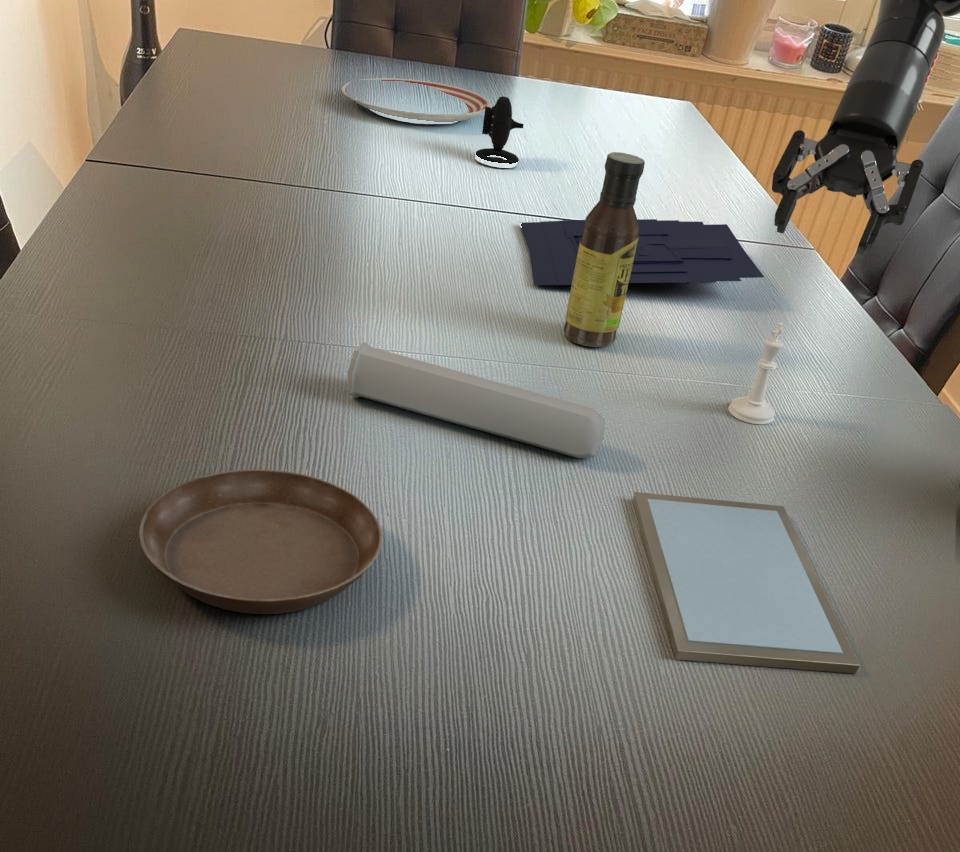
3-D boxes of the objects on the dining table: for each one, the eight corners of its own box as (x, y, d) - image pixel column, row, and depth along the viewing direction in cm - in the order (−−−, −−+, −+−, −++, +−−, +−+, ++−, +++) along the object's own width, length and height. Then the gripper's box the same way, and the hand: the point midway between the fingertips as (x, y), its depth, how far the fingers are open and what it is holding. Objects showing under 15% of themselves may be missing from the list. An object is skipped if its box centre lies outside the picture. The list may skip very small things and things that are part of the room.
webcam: (474, 153, 174) (482, 88, 167) (518, 159, 174) (527, 95, 168) (472, 165, 168) (480, 99, 161) (517, 172, 168) (527, 106, 162)
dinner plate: (316, 110, 181) (316, 90, 179) (375, 85, 202) (377, 66, 200) (460, 144, 177) (462, 123, 175) (506, 114, 198) (509, 95, 196)
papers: (764, 304, 131) (770, 275, 129) (532, 307, 130) (534, 278, 128) (720, 239, 150) (724, 213, 148) (517, 241, 149) (518, 215, 146)
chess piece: (719, 408, 109) (746, 318, 103) (746, 398, 112) (774, 310, 105) (755, 428, 106) (786, 337, 100) (782, 418, 109) (814, 328, 103)
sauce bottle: (612, 355, 116) (653, 170, 104) (558, 344, 117) (593, 159, 104) (617, 334, 121) (657, 155, 109) (566, 323, 122) (599, 144, 109)
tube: (615, 407, 97) (372, 341, 101) (607, 413, 92) (352, 343, 96) (600, 462, 99) (362, 394, 103) (591, 470, 94) (342, 399, 98)
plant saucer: (226, 476, 86) (225, 444, 85) (416, 539, 83) (419, 507, 81) (91, 584, 73) (86, 549, 71) (310, 664, 70) (311, 630, 68)
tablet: (780, 514, 94) (784, 504, 93) (855, 674, 77) (860, 664, 76) (632, 500, 92) (634, 490, 91) (675, 660, 75) (678, 649, 75)
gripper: (816, 63, 106) (755, 201, 105) (955, 94, 102) (894, 238, 101) (809, 111, 113) (753, 241, 112) (939, 142, 109) (882, 277, 108)
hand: (820, 240), depth 106 cm, fingers open, 8 cm apart
